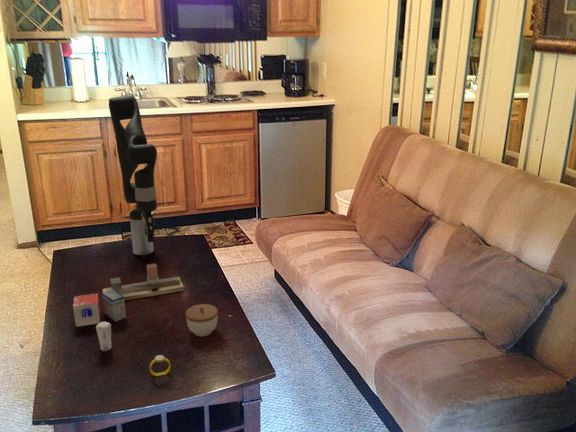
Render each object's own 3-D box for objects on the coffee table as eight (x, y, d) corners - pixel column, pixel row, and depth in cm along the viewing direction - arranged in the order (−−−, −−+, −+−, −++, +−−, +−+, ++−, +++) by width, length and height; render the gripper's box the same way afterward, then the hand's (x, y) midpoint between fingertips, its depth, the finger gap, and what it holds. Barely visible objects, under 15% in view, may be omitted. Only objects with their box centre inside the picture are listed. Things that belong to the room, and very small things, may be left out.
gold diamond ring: (170, 370, 156) (170, 353, 155) (171, 376, 154) (171, 358, 152) (149, 373, 154) (149, 356, 153) (150, 378, 152) (150, 361, 150)
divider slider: (147, 284, 207) (145, 264, 204) (157, 282, 208) (156, 262, 206) (149, 288, 203) (147, 268, 200) (159, 287, 205) (157, 267, 202)
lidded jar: (183, 327, 180) (182, 303, 177) (213, 321, 184) (212, 297, 181) (190, 343, 170) (189, 317, 167) (222, 336, 174) (221, 311, 171)
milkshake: (107, 354, 164) (103, 326, 161) (95, 349, 166) (92, 322, 163) (118, 348, 167) (115, 320, 164) (107, 343, 170) (103, 316, 167)
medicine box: (103, 314, 188) (101, 293, 185) (115, 310, 191) (112, 289, 188) (115, 322, 183) (112, 300, 180) (126, 317, 186) (124, 295, 183)
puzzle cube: (100, 312, 189) (97, 293, 187) (100, 323, 182) (97, 303, 180) (76, 316, 187) (74, 296, 184) (75, 327, 180) (72, 306, 177)
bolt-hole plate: (103, 292, 204) (101, 277, 202) (179, 280, 215) (178, 265, 213) (104, 303, 195) (102, 288, 193) (184, 290, 206) (183, 275, 204)
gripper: (133, 193, 199) (137, 233, 205) (137, 204, 187) (141, 245, 192) (153, 191, 202) (156, 230, 207) (159, 201, 190) (162, 243, 195)
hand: (149, 237), depth 200 cm, fingers open, 8 cm apart
